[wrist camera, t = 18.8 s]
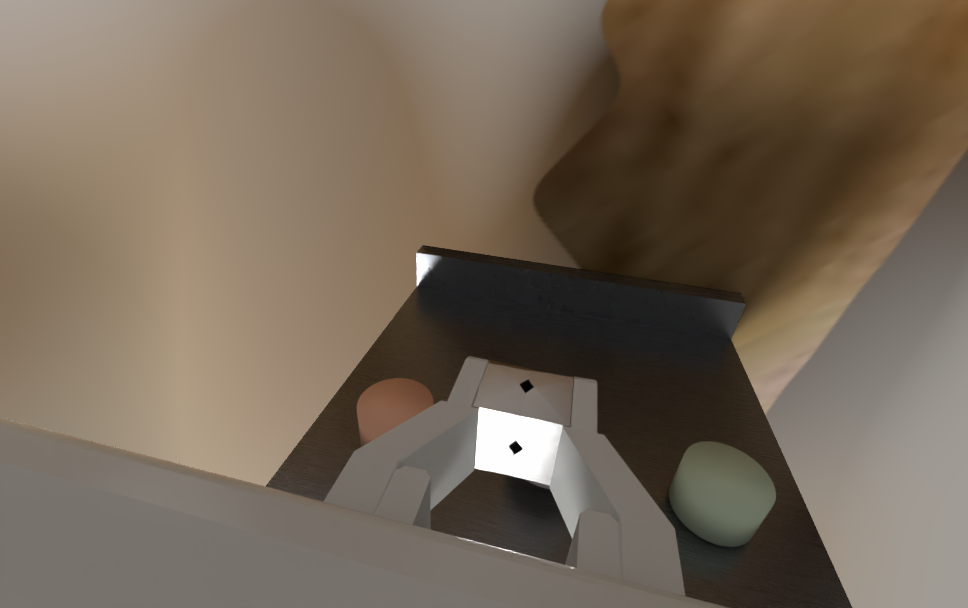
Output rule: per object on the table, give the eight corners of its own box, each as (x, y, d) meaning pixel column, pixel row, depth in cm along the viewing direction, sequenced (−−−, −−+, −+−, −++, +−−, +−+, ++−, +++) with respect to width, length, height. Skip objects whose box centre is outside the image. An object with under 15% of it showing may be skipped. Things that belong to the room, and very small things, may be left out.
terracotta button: (376, 372, 30) (342, 422, 26) (442, 386, 29) (418, 439, 25) (379, 404, 32) (347, 456, 28) (442, 417, 31) (418, 473, 27)
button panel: (422, 245, 47) (163, 538, 19) (740, 293, 42) (1026, 791, 14) (424, 336, 53) (230, 657, 25) (700, 387, 48) (841, 861, 20)
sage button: (677, 434, 27) (691, 501, 23) (760, 450, 26) (789, 524, 22) (664, 465, 29) (674, 534, 25) (742, 482, 28) (766, 556, 24)
